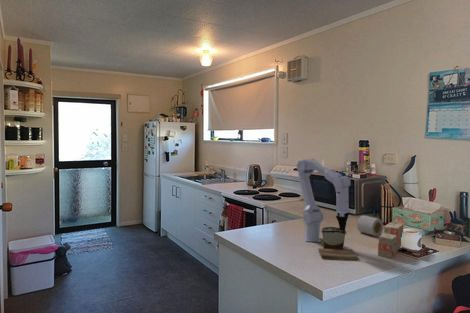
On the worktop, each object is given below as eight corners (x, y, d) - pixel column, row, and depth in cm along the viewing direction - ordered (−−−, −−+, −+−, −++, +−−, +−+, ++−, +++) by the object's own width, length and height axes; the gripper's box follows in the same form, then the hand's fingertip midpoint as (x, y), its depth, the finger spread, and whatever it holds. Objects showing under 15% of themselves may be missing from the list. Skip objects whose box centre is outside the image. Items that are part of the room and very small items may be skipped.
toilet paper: (356, 233, 196) (357, 216, 195) (367, 230, 201) (368, 214, 201) (371, 237, 188) (372, 220, 187) (382, 235, 193) (383, 217, 192)
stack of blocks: (391, 258, 155) (392, 232, 154) (377, 255, 159) (378, 230, 158) (402, 247, 172) (403, 223, 171) (389, 244, 176) (390, 221, 175)
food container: (343, 246, 172) (343, 227, 171) (346, 250, 166) (346, 230, 165) (318, 245, 173) (319, 226, 173) (320, 249, 167) (321, 229, 167)
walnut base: (318, 251, 164) (318, 248, 164) (351, 252, 163) (351, 249, 162) (322, 258, 154) (322, 255, 154) (357, 260, 153) (357, 256, 152)
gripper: (350, 203, 156) (351, 232, 156) (351, 199, 169) (352, 226, 170) (334, 203, 158) (335, 231, 158) (336, 198, 172) (337, 225, 172)
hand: (342, 228), depth 164 cm, fingers open, 7 cm apart
